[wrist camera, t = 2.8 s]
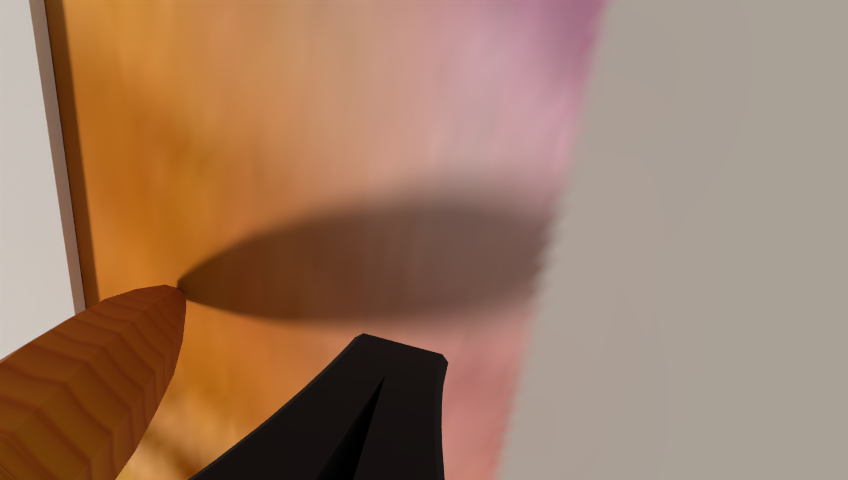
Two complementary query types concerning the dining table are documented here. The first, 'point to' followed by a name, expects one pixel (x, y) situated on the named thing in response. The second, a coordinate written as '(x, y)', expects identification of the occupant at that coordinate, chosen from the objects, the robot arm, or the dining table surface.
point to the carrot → (89, 387)
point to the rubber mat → (33, 186)
